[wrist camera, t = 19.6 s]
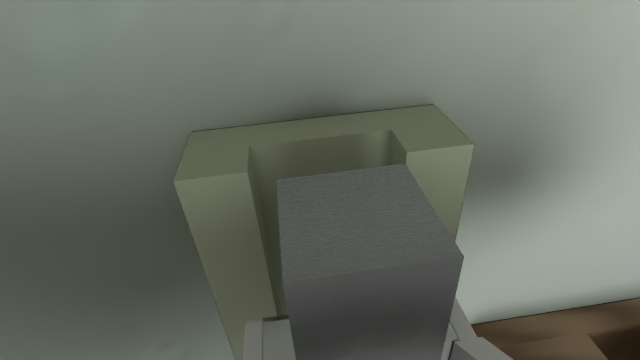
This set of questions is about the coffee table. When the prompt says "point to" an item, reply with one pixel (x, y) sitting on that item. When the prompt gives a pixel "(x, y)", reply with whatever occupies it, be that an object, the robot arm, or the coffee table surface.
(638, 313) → the beam
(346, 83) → the coffee table surface
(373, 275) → the shaft
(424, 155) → the cradle
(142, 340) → the coffee table surface
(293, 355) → the robot arm
